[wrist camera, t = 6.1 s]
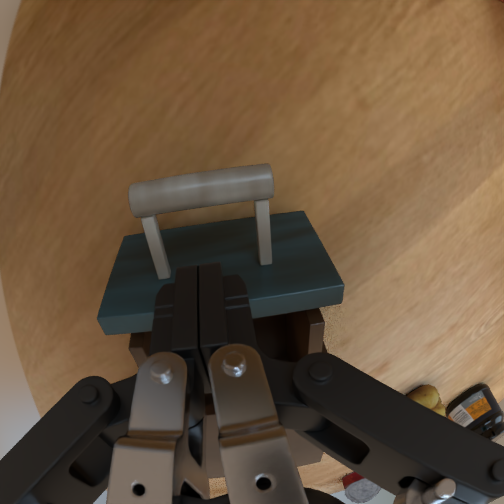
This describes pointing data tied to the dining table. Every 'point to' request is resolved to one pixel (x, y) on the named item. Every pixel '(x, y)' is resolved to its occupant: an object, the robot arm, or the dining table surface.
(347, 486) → the canned food
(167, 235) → the drawer
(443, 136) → the dining table surface
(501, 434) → the supplement container
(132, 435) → the robot arm
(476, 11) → the dining table surface
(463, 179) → the dining table surface
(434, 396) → the bread roll
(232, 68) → the dining table surface
